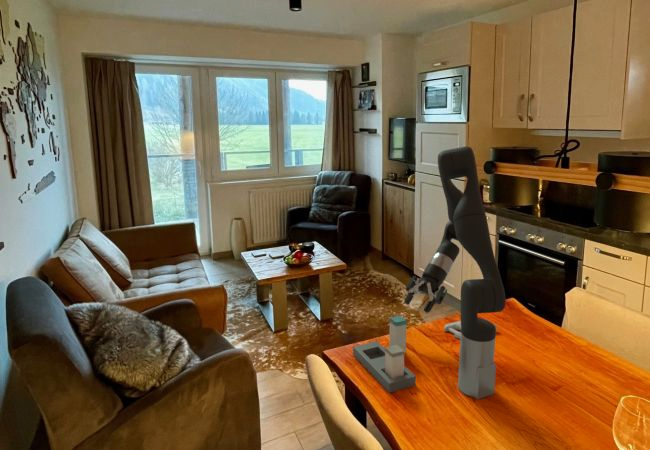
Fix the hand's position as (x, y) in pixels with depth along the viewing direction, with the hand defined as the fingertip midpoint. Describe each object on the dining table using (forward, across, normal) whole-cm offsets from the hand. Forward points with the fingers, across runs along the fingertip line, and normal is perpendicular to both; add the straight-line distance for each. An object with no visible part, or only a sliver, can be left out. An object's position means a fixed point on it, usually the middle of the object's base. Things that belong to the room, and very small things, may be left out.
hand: (415, 307), depth 148 cm
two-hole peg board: (+24, +4, -5) cm, 25 cm away
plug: (+16, 0, +3) cm, 16 cm away
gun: (-6, +7, +26) cm, 27 cm away
